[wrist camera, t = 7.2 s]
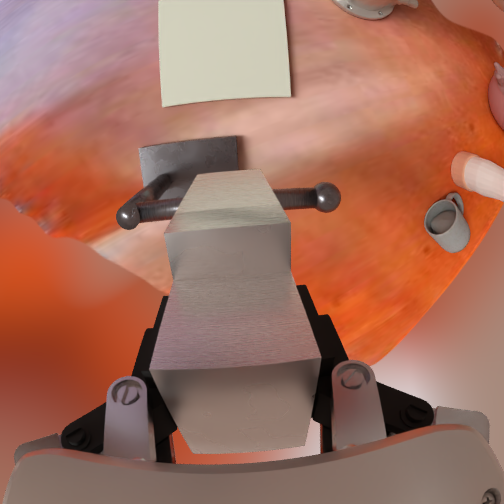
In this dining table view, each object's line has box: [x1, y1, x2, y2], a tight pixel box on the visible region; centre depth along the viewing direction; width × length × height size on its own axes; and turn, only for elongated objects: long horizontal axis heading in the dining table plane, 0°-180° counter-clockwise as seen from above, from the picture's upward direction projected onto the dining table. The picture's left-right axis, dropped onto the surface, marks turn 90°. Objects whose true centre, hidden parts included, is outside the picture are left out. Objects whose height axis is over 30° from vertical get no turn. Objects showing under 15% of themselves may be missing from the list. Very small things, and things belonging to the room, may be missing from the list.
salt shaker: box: [451, 151, 504, 202], centre depth 34 cm, size 7×7×19 cm
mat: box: [158, 0, 291, 107], centre depth 32 cm, size 18×18×1 cm
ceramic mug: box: [424, 193, 470, 253], centre depth 43 cm, size 11×8×8 cm
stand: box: [116, 136, 341, 230], centre depth 33 cm, size 24×11×18 cm, turn 93°
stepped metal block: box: [149, 169, 321, 454], centre depth 13 cm, size 4×8×14 cm, turn 3°
